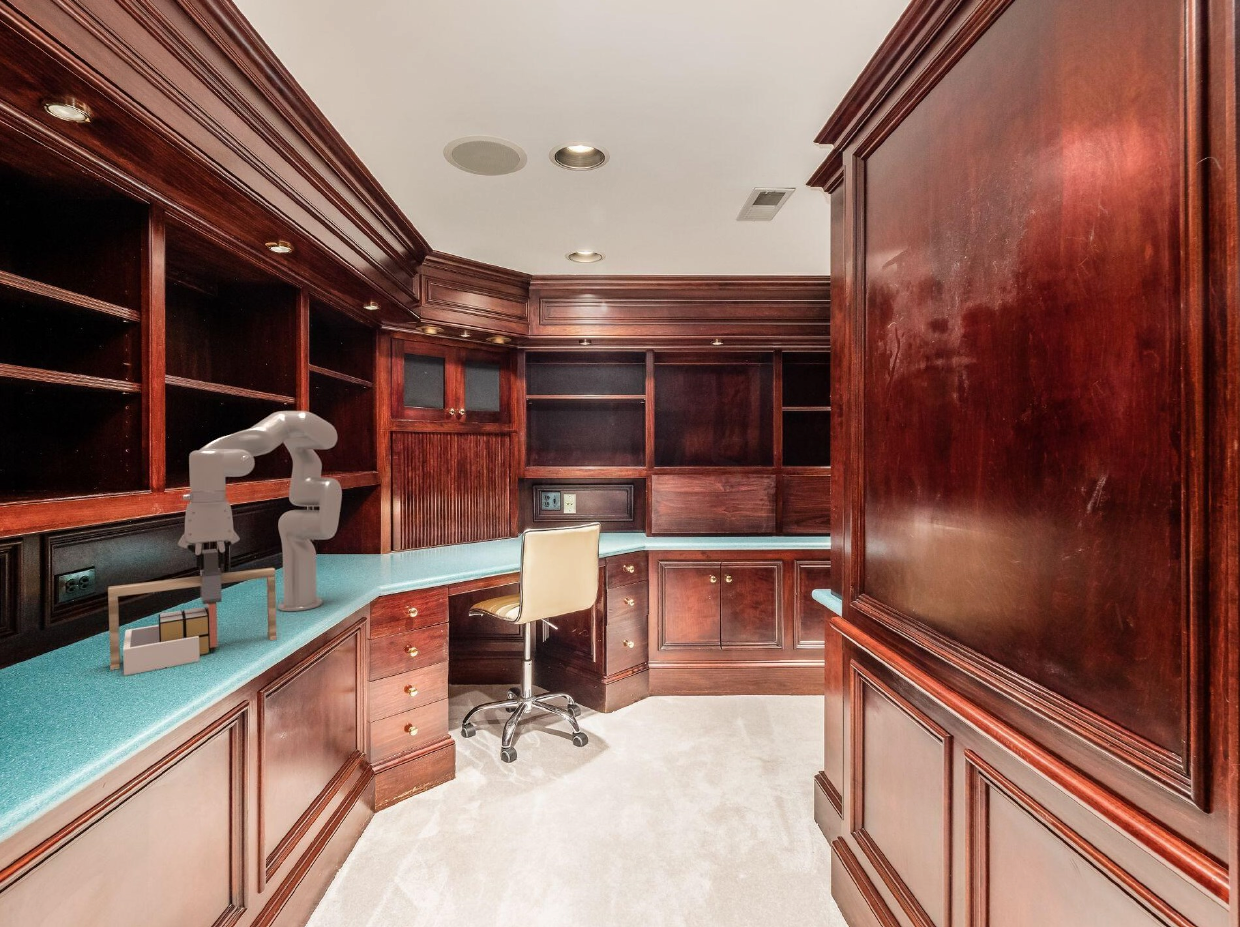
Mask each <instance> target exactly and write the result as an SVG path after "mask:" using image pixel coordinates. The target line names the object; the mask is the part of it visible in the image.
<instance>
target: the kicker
mask: <svg viewBox="0 0 1240 927" xmlns="http://www.w3.org/2000/svg"><path fill="white" fill-rule="evenodd" d="M217 550H218V549H217V548H212V549H201V551H202V554H203V561H204V569H203V570H200V569H199V571H200V572H199V574H200V575H199V576H202V586H200V601H201V603H202V605H205V607H206V609H207V612H208V615H209V635H210V649H211V648H216V647H218V644H219V643H218V614H217V612H218V611H217V609H218V608H217V603H222V601H223V600H222V583H221V574H222V571H221V568H218V551H217Z"/></svg>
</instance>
